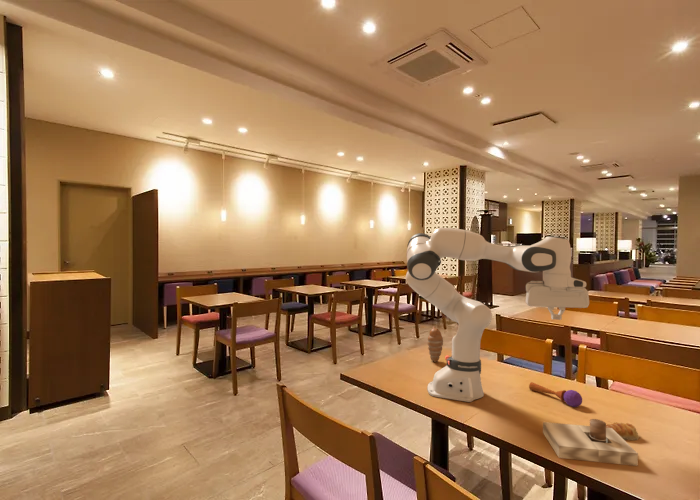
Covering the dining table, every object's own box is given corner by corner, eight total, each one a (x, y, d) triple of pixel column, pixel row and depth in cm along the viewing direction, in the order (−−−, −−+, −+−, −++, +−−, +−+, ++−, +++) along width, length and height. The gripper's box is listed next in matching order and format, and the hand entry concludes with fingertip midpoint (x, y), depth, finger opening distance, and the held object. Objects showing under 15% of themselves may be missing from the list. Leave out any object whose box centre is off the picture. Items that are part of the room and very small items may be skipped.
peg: (593, 451, 107) (593, 424, 107) (587, 444, 111) (587, 418, 111) (609, 453, 106) (608, 426, 106) (602, 446, 110) (602, 419, 110)
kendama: (536, 379, 154) (585, 392, 136) (535, 393, 153) (585, 408, 136) (527, 378, 151) (576, 392, 134) (526, 393, 150) (576, 409, 133)
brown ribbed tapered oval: (446, 363, 184) (446, 328, 184) (431, 365, 183) (431, 329, 182) (437, 358, 193) (437, 324, 193) (424, 359, 191) (424, 325, 191)
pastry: (609, 440, 114) (609, 428, 114) (596, 429, 120) (596, 418, 120) (641, 441, 113) (641, 429, 113) (626, 430, 119) (626, 419, 119)
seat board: (558, 457, 104) (559, 445, 104) (542, 432, 118) (542, 421, 118) (637, 465, 100) (637, 453, 100) (611, 438, 114) (611, 428, 114)
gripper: (528, 281, 130) (527, 320, 130) (591, 282, 126) (591, 322, 126) (523, 279, 136) (523, 316, 136) (583, 280, 132) (583, 318, 132)
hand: (556, 319), depth 131 cm, fingers closed
